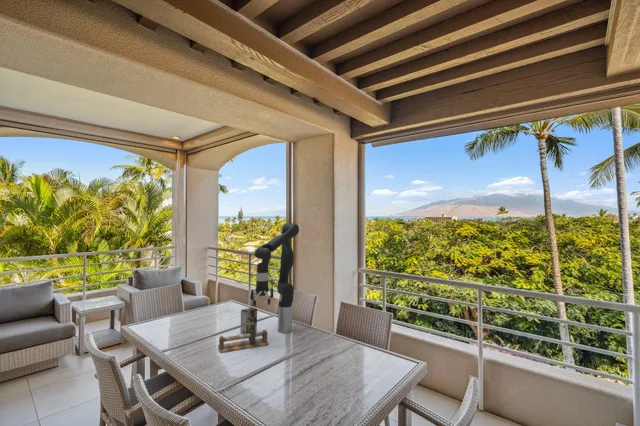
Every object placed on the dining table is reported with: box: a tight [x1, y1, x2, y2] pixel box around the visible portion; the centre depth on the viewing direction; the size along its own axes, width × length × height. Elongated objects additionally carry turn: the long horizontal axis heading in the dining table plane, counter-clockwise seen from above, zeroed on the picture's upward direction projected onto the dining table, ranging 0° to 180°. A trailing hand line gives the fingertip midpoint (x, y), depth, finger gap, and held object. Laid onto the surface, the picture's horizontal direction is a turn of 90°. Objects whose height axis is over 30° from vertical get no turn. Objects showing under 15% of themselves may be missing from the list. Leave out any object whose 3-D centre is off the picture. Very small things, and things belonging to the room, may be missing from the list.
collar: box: [248, 324, 257, 344], centre depth 174 cm, size 2×7×10 cm, turn 26°
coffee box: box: [239, 306, 258, 335], centre depth 192 cm, size 9×6×16 cm
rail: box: [217, 329, 269, 354], centre depth 172 cm, size 28×10×7 cm, turn 116°
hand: (261, 305), depth 178 cm, fingers open, 8 cm apart
